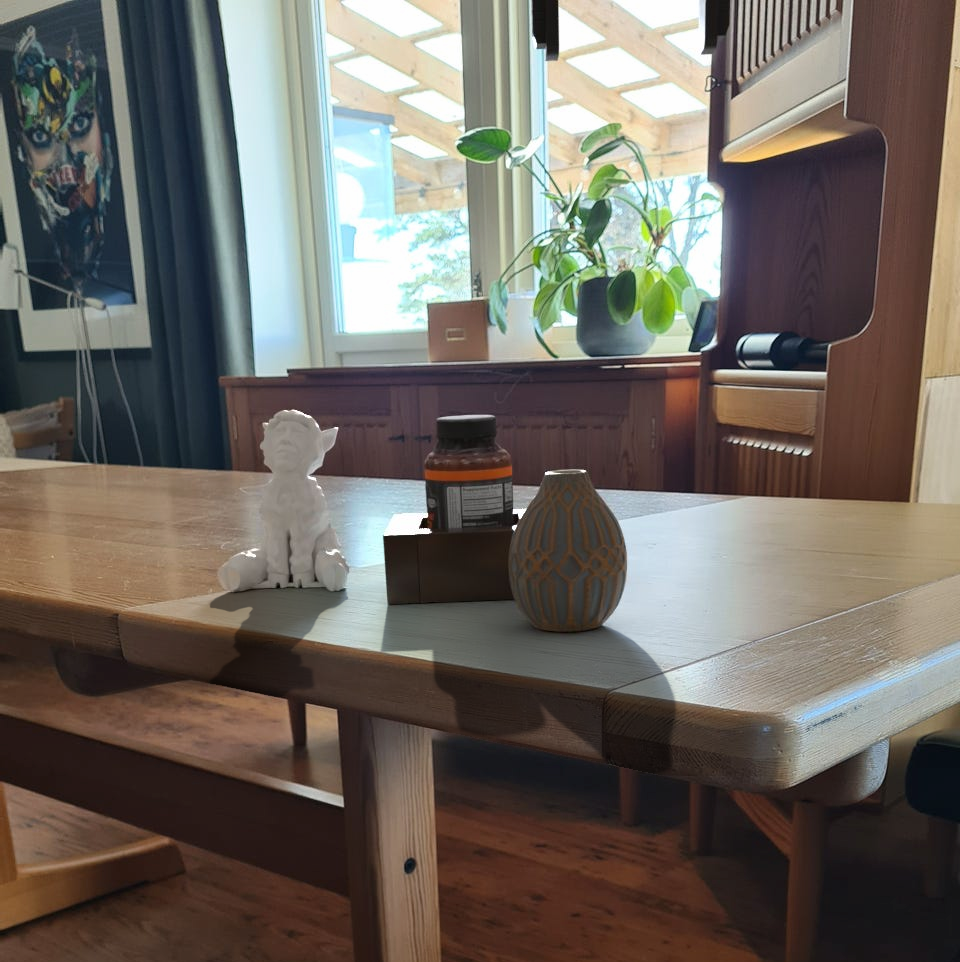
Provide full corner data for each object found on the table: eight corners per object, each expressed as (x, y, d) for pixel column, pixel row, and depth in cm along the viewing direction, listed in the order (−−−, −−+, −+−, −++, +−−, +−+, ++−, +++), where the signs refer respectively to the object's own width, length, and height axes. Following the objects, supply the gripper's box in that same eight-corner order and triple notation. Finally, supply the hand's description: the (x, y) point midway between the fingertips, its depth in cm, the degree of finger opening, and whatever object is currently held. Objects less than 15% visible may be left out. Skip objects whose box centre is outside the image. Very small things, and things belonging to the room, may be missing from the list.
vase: (550, 610, 80) (547, 465, 77) (648, 619, 77) (649, 466, 73) (487, 631, 75) (481, 476, 72) (588, 641, 71) (586, 479, 68)
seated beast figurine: (215, 593, 91) (195, 416, 87) (254, 573, 99) (237, 409, 95) (344, 591, 90) (330, 411, 85) (373, 571, 98) (361, 405, 93)
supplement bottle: (428, 582, 92) (418, 416, 88) (510, 577, 93) (504, 412, 88) (434, 596, 87) (424, 420, 82) (521, 591, 87) (516, 416, 83)
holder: (548, 570, 95) (547, 508, 93) (556, 597, 84) (555, 528, 83) (397, 576, 95) (393, 514, 93) (387, 604, 85) (382, 535, 83)
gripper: (489, -349, 61) (501, 46, 67) (789, -365, 61) (774, 33, 67) (488, -277, 68) (499, 75, 74) (758, -291, 68) (747, 63, 74)
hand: (630, 55), depth 70 cm, fingers open, 8 cm apart
